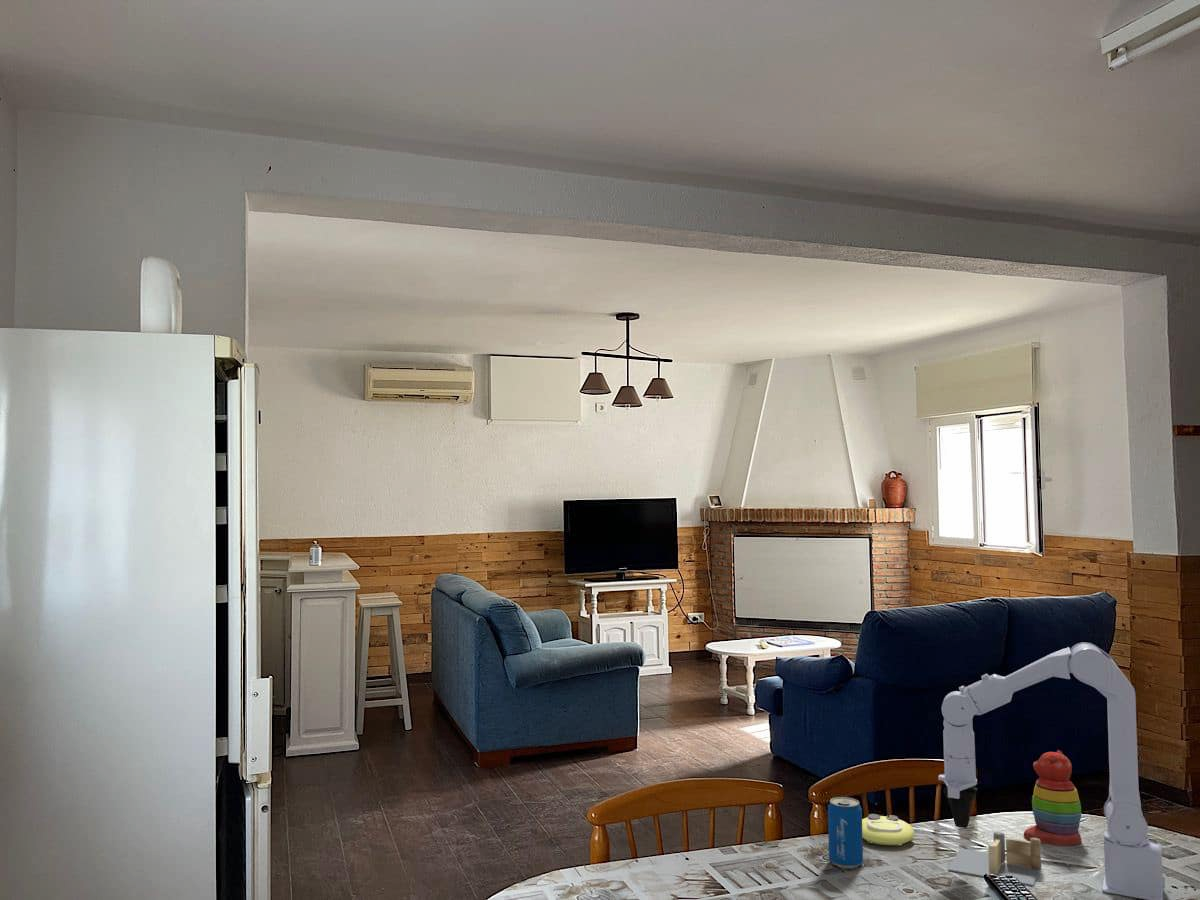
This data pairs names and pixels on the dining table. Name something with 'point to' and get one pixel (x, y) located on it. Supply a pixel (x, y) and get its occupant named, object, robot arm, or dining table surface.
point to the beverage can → (845, 832)
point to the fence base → (1024, 853)
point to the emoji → (886, 830)
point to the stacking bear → (1055, 802)
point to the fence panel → (996, 852)
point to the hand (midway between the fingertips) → (961, 826)
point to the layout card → (979, 866)
